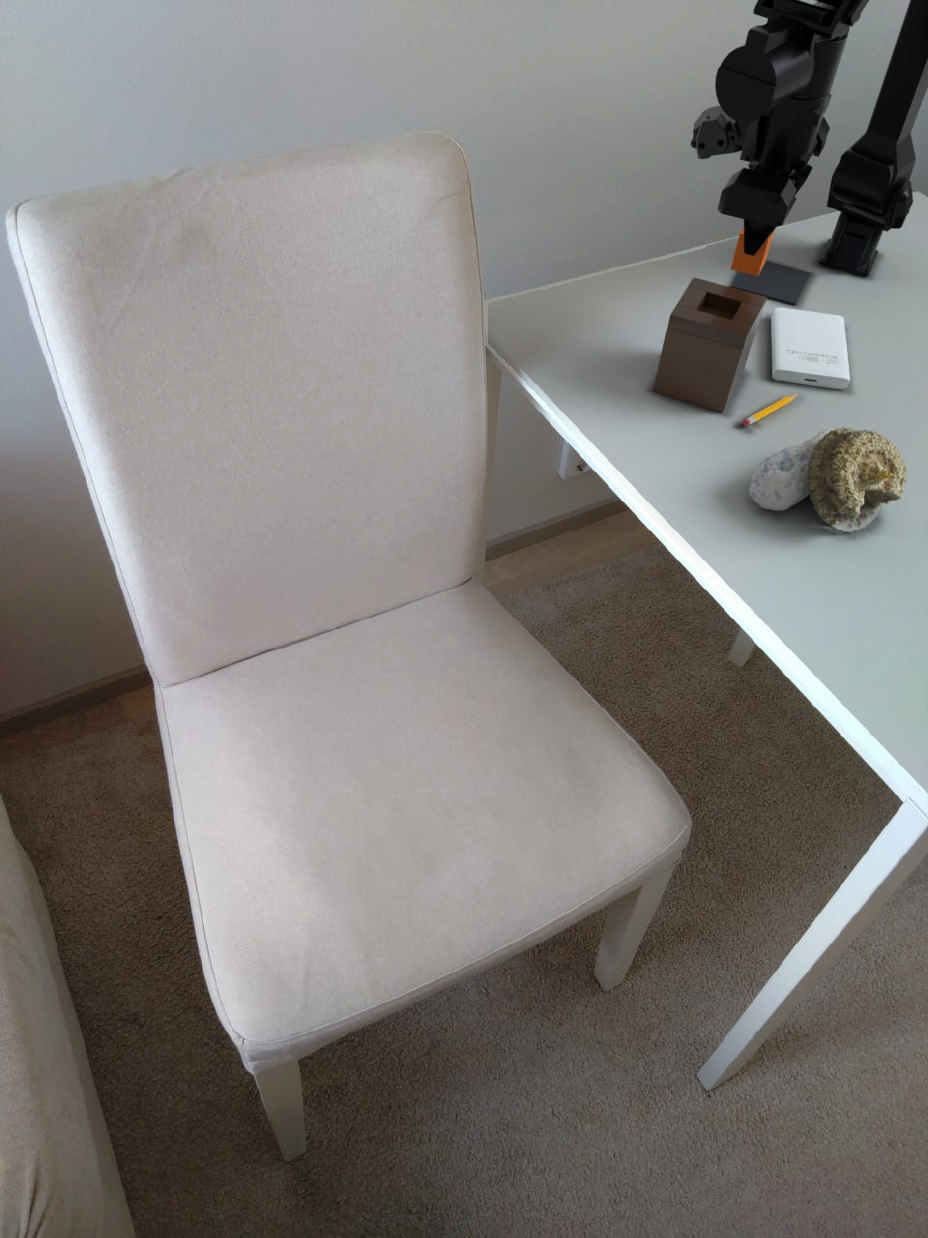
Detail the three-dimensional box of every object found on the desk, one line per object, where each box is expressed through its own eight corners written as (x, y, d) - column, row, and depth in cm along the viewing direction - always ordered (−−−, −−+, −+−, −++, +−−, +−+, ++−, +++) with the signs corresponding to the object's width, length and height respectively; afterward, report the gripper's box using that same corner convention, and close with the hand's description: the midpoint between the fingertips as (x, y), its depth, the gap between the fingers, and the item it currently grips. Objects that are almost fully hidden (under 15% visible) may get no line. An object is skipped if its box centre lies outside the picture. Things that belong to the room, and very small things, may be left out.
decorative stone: (783, 536, 86) (801, 498, 82) (734, 494, 90) (748, 455, 86) (876, 485, 91) (896, 446, 87) (825, 447, 95) (843, 408, 91)
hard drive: (839, 327, 109) (846, 390, 101) (769, 318, 109) (771, 379, 102) (844, 315, 107) (851, 378, 100) (773, 306, 108) (775, 367, 100)
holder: (675, 352, 104) (693, 276, 97) (743, 373, 102) (767, 297, 95) (652, 390, 100) (670, 314, 92) (722, 413, 98) (746, 336, 90)
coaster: (748, 258, 118) (749, 255, 118) (810, 274, 116) (810, 272, 116) (731, 287, 113) (732, 285, 113) (795, 305, 111) (796, 303, 111)
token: (737, 255, 98) (747, 219, 95) (765, 262, 98) (775, 226, 94) (730, 269, 97) (739, 233, 94) (757, 276, 96) (768, 240, 93)
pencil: (741, 423, 96) (743, 418, 96) (794, 394, 100) (796, 389, 99) (747, 427, 96) (749, 422, 95) (799, 398, 99) (801, 393, 99)
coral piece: (786, 453, 85) (829, 442, 80) (859, 412, 88) (905, 399, 83) (825, 550, 86) (870, 544, 81) (896, 506, 89) (943, 498, 84)
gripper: (740, 34, 90) (705, 189, 103) (682, 107, 80) (651, 270, 92) (853, 55, 87) (803, 212, 100) (808, 135, 77) (759, 299, 89)
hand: (753, 246), depth 95 cm, fingers closed on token, 3 cm apart
